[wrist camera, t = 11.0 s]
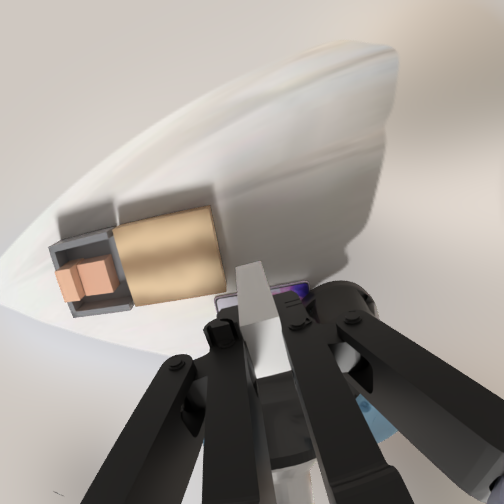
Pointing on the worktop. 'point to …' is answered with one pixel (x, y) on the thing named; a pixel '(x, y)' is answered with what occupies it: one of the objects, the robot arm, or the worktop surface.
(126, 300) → the tray
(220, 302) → the smartphone
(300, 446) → the robot arm
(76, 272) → the tile
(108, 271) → the tile
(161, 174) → the worktop surface
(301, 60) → the worktop surface
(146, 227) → the board
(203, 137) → the worktop surface
